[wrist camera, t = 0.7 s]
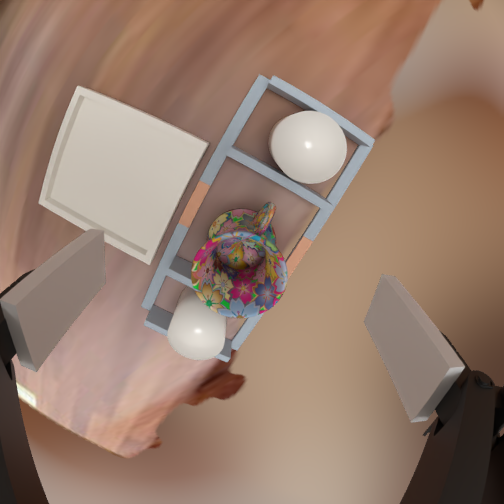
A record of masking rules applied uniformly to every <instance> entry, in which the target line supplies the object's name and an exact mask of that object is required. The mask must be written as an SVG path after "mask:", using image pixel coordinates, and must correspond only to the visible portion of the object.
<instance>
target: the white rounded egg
mask: <svg viewBox="0 0 504 504" xmlns="http://www.w3.org/2000/svg"><path fill="white" fill-rule="evenodd" d="M226 324H227V316H223V315H221V314H218V313H216V312H214V311H213V310H211V309H210V308H208V307H207V306H206V305H205V304H204V303H203V302H202V301H201V300H200V299H199V297H198V296H197V294H196V292H195V290H194V289H193V288H191V287H189V286H187V287H186V288H185V289H184V290H183V292H182V293H181V296H180V298H179V301H178V304H177V306H176V309H175V312H174V315H173V317H172V320H171V323H170V326H169V328H168V332H167V337H168V341H169V343H170V345H171V346H172V348H173V349H174V350H175V351H176V352H177V353H179V354H180V355H182V356H184V357H186V358H189V359H193V360H207V359H210V358H213V357H215V356H216V355H218V354H219V353H220V352H221V351H222V349H223V347H224V343H225V333H226Z"/></svg>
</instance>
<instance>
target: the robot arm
mask: <svg viewBox="0 0 504 504" xmlns="http://www.w3.org/2000/svg"><path fill="white" fill-rule="evenodd" d="M105 283H106V275H105V253H104V230H98V229H91V228H90V229H89V230H87V231H86V232H84V233H83V234H82V235H80V236H79V237H77V238H76V239H75V240H73V241H72V242H70V243H69V244H68V245H66V246H65V247H64V248H62V249H61V250H60V251H58V252H57V253H56V254H54V255H53V256H52V257H50V258H49V259H48V260H47V261H45V262H44V263H43V264H41V265H40V266H39V267H38V268H36V269H34V270H32V271H29V272H27V273H25V274H23V275H22V276H21V277H20V278H18V279H17V281H15V282H14V283H12V284H11V285H10V287H8V288H6V289H5V290H4V291H3V292H2V293H0V504H49V503H48V500H47V498H46V495H45V492H44V490H43V487H42V484H41V482H40V479H39V476H38V473H37V470H36V467H35V464H34V461H33V457H32V454H31V450H30V447H29V444H28V439H27V435H26V431H25V427H24V423H23V418H22V413H21V409H20V404H19V397H18V391H17V385H16V378H15V370H14V365H13V362H12V360H11V359H12V358H13V356H14V355H15V354H16V353H17V356H18V359H19V361H20V364H21V365H22V366H24V367H26V368H28V369H31V370H33V371H35V372H37V371H38V370H39V368H40V367H41V365H42V364H43V363H44V361H45V360H46V358H47V357H48V356H49V354H50V353H51V352H52V350H53V349H54V348H55V346H56V345H57V343H58V342H59V341H60V339H61V338H62V337H63V336H64V334H65V333H66V332H67V330H68V329H69V328H70V326H71V325H72V324H73V323H74V321H75V320H76V319H77V318H78V316H79V315H80V314H81V313H82V311H83V310H84V309H85V308H86V306H87V305H88V304H89V303H90V301H91V300H92V299H93V298H94V297H95V295H96V294H97V293H98V292H99V291H100V289H101V288H102V287H103V286H104V285H105ZM364 323H365V325H366V327H367V329H368V331H369V333H370V335H371V337H372V339H373V341H374V343H375V345H376V347H377V349H378V351H379V353H380V356H381V358H382V360H383V361H384V364H385V366H386V368H387V370H388V372H389V375H390V377H391V379H392V381H393V383H394V385H395V388H396V390H397V392H398V394H399V396H400V399H401V401H402V403H403V405H404V408H405V410H406V412H407V415H408V417H409V419H410V421H411V422H419V421H425V420H427V419H428V418H429V416H430V415H431V414H432V413H433V411H434V410H436V412H437V414H438V417H437V418H436V419H435V421H434V422H433V423H432V424H431V425H430V426H429V428H428V429H427V430H426V431H425V433H424V434H423V435H424V436H426V434H427V433H428V432H430V434H429V436H428V439H427V442H426V445H425V447H424V450H423V453H422V455H421V458H420V460H419V463H418V465H417V468H416V470H415V472H414V475H413V477H412V479H411V481H410V484H409V486H408V488H407V490H406V492H405V494H404V496H403V498H402V500H401V502H400V504H504V434H503V435H502V436H501V437H500V433H499V432H500V431H501V430H502V428H503V427H504V386H503V387H499V386H495V384H494V382H493V381H492V379H491V378H490V377H489V376H487V375H486V374H484V373H483V372H481V371H474V370H473V371H471V370H470V368H469V367H468V365H467V364H466V363H465V361H464V360H463V358H462V357H461V356H460V355H459V353H458V352H456V349H455V347H454V346H453V345H452V344H451V342H450V341H449V339H448V338H447V337H446V336H445V335H444V334H443V333H441V332H440V331H439V330H438V329H437V327H436V326H435V325H434V324H433V322H432V321H431V320H430V318H429V317H428V316H427V315H426V313H425V312H424V311H423V310H422V308H421V307H420V306H419V305H418V303H417V302H416V301H415V300H414V298H413V297H412V296H411V295H410V294H409V292H408V291H407V290H406V289H405V288H404V286H403V285H402V284H401V283H400V282H399V280H398V279H397V278H396V277H395V276H390V275H384V274H382V276H381V278H380V281H379V284H378V286H377V289H376V292H375V295H374V297H373V300H372V302H371V305H370V308H369V310H368V313H367V315H366V317H365V320H364Z"/></svg>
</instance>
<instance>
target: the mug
mask: <svg viewBox="0 0 504 504" xmlns="http://www.w3.org/2000/svg"><path fill="white" fill-rule="evenodd" d="M275 210H276V205H275V204H274V203H272V202H268V203H267V204H265V205H264V206H263V208H262V209H261V210H260V212H259V213H257V212H255V211H252V210H248V209H235V210H231V211H228V212H226V213H224V214H222V215H221V216H219V217H218V218H217V219H216V220H215V221H214V222H213V224H212V225H211V227H210V229H209V232H208V237H207V243H205V244H204V245H203V246H202V247H201V248H200V250H199V251H198V252H197V254H196V256H195V258H194V260H193V263H192V268H191V281H192V285H193V288H194V290H195V292H196V294H197V296H198V297H199V299H200V300H201V301H202V302H203V303H204V304H205V305H206V306H207V307H208V308H210V309H211V310H213V311H214V312H216V313H218V314H221V315H223V316H227V317H232V318H248V317H253V316H257V315H259V314H262V313H264V312H265V311H267V310H269V309H270V308H271V307H273V306H274V305H275V304H276V303H277V302H278V301H279V300H280V298H281V297H282V295H283V293H284V291H285V289H286V285H287V280H288V271H287V266H286V262H285V260H284V258H283V256H282V254H281V253H280V251H279V250H278V249H277V247H276V246H275V245H276V237H275V233H274V230H273V228H272V226H271V224H270V222H271V220H272V218H273V216H274V213H275ZM264 216H265V217H264Z"/></svg>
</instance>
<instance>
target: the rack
mask: <svg viewBox="0 0 504 504" xmlns="http://www.w3.org/2000/svg"><path fill="white" fill-rule="evenodd" d="M266 88H268V89H269V90H271V91H273V92H275V93H277V94H279V95H280V96H282V97H284V98H286V99H287V100H289V101H291V102H293V103H294V104H296V105H298V106H299V107H301V108H303V109H305V110H306V111H317V112H321V113H323V114H326V115H327V116H329V117H331V118H332V119H333V120H334V121H335V122H336V123H337V124H338V125H339V126H340V128H341V129H342V131H343V133H344V135H345V136H347V137H348V138H349V139H351V140H352V141H354V142H355V143H357V144H358V147H357V148H356V150H355V152H354V153H353V155H352V157H351V158H350V160H349V162H348V163H347V165H346V166H345V168H344V170H343V171H342V173H341V175H340V176H339V178H338V179H337V181H336V183H335V184H334V186H333V187H332V189H331V191H330V192H329V194H328V195H327V197H326V198H324V197H323V196H321V195H320V194H318V193H316V192H315V191H313V190H311V189H310V188H308V187H306V186H305V185H303V184H301V183H300V182H298V181H296V180H294V179H292V178H290V177H289V176H288V175H286V174H284V173H283V172H281V171H279V170H277V169H276V168H274V167H272V166H270V165H268V164H267V163H265V162H263V161H261V160H259V159H258V158H256V157H254V156H252V155H250V154H248V153H247V152H245V151H243V150H241V149H239V148H237V147H235V146H233V144H234V142H235V141H236V139H237V137H238V135H239V134H240V132H241V130H242V128H243V127H244V125H245V123H246V121H247V120H248V118H249V116H250V115H251V113H252V111H253V110H254V108H255V106H256V105H257V103H258V101H259V100H260V98H261V96H262V95H263V93H264V91H265V90H266ZM374 141H375V140H374V139H373V138H372V137H370V136H369V135H367V134H366V133H365V132H363V131H362V130H361V129H359V128H358V127H356V126H355V125H354V124H352V123H351V122H349V121H348V120H346V119H345V118H343V117H342V116H340V115H339V114H337V113H336V112H334V111H333V110H331V109H330V108H328V107H327V106H325V105H323V104H322V103H320V102H319V101H317V100H316V99H314V98H312V97H311V96H309V95H307V94H306V93H304V92H302V91H301V90H299V89H297V88H295V87H294V86H292V85H290V84H288V83H287V82H285V81H283V80H281V79H279V78H278V77H276V76H274V75H273V77H272V78H271V80H269V79H267V78H266V77H264V76H262V75H259V76H258V78H257V79H256V81H255V83H254V84H253V86H252V88H251V89H250V91H249V92H248V94H247V96H246V97H245V99H244V101H243V102H242V104H241V106H240V108H239V109H238V111H237V113H236V114H235V116H234V118H233V120H232V121H231V123H230V125H229V127H228V128H227V130H226V132H225V134H224V135H223V137H222V139H221V141H220V143H219V144H218V146H217V148H216V150H215V152H214V154H213V156H212V157H211V159H210V161H209V163H208V165H207V167H206V169H205V171H204V172H203V174H202V176H201V178H200V180H199V182H198V184H197V186H196V188H195V190H194V192H193V194H192V196H191V198H190V200H189V202H188V204H187V206H186V208H185V210H184V212H183V214H182V216H181V218H180V220H179V222H178V224H177V227H176V229H175V231H174V233H173V235H172V237H171V239H170V241H169V244H168V246H167V248H166V250H165V252H164V255H163V257H162V259H161V261H160V263H159V266H158V268H157V270H156V273H155V275H154V277H153V279H152V282H151V284H150V286H149V289H148V291H147V294H146V296H145V298H144V301H143V303H142V306H141V307H143V308H145V309H147V310H149V311H150V312H149V314H148V316H147V318H146V320H145V323H144V326H146V327H148V328H151V329H153V330H155V331H157V332H159V333H161V334H163V335H165V336H167V332H168V328H169V326H170V323H171V320H172V317H173V315H174V314H172V313H170V312H167V311H165V310H163V309H161V308H159V307H157V306H155V305H153V304H154V301H155V299H156V297H157V295H158V292H159V290H160V288H161V286H162V284H163V281H164V279H165V277H166V275H167V276H169V277H171V278H173V279H175V280H177V281H179V282H181V283H183V284H185V285H187V286H189V287H191V288H193V285H192V281H191V268H192V263H190V262H188V261H186V260H184V259H182V258H180V257H178V256H176V254H177V252H178V250H179V247H180V245H181V243H182V241H183V239H184V237H185V235H186V233H187V231H188V229H189V227H190V225H191V223H192V221H193V219H194V217H195V215H196V213H197V211H198V209H199V207H200V205H201V203H202V201H203V200H204V198H205V196H206V194H207V192H208V190H209V188H210V186H211V184H212V182H213V181H214V179H215V177H216V175H217V173H218V171H219V169H220V168H221V166H222V164H223V162H224V160H225V158H226V157H227V156H228V157H230V158H232V159H234V160H236V161H238V162H240V163H242V164H244V165H245V166H247V167H249V168H251V169H253V170H255V171H256V172H258V173H260V174H262V175H264V176H266V177H267V178H269V179H271V180H273V181H274V182H276V183H278V184H280V185H282V186H283V187H285V188H287V189H289V190H290V191H292V192H294V193H295V194H297V195H299V196H301V197H302V198H304V199H306V200H307V201H309V202H311V203H312V204H314V205H316V206H317V207H319V210H318V211H317V213H316V214H315V216H314V218H313V219H312V221H311V222H310V224H309V225H308V227H307V229H306V230H305V232H304V233H303V235H302V236H301V238H300V239H299V241H298V242H297V244H296V246H295V247H294V249H293V250H292V252H291V253H290V255H289V256H288V258H287V259H286V261H285V262H286V266H287V271H288V278H289V277H290V275H291V274H292V272H293V271H294V269H295V268H296V267H297V265H298V263H299V262H300V260H301V259H302V258H303V256H304V254H305V253H306V252H307V250H308V249H309V247H310V245H311V244H312V242H313V241H314V239H315V238H316V236H317V234H318V233H319V231H320V230H321V228H322V227H323V225H324V224H325V222H326V221H327V219H328V218H329V216H330V214H331V213H332V211H333V210H334V208H335V207H336V205H337V204H338V202H339V200H340V199H341V197H342V196H343V194H344V192H345V191H346V189H347V188H348V186H349V184H350V183H351V181H352V180H353V178H354V176H355V175H356V173H357V171H358V170H359V168H360V167H361V165H362V163H363V162H364V160H365V158H366V157H367V155H368V154H369V152H370V150H371V149H372V147H373V145H372V144H373V143H374ZM193 289H194V288H193ZM263 314H264V313H262V314H259V315H257V316H253V317H248V318H247V319H246V320H245V322H244V323H243V325H242V326H241V328H240V329H239V331H238V332H237V333H236V335H235V336H234V338H233V339H232V341H231V340H229V339H227V338H225V343H224V347H223V349H222V351H221V352H220V353H219V354H218V355H216V356H215V358H218V359H220V360H223V361H225V362H228V361H229V359H230V356H231V348H232V349H235V350H238V349H239V347H240V346H241V345H242V343H243V342H244V340H245V339H246V338H247V336H248V335H249V333H250V332H251V331H252V329H253V328H254V326H255V325H256V323H257V322H258V321H259V319H260V318H261V316H262V315H263Z"/></svg>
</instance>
